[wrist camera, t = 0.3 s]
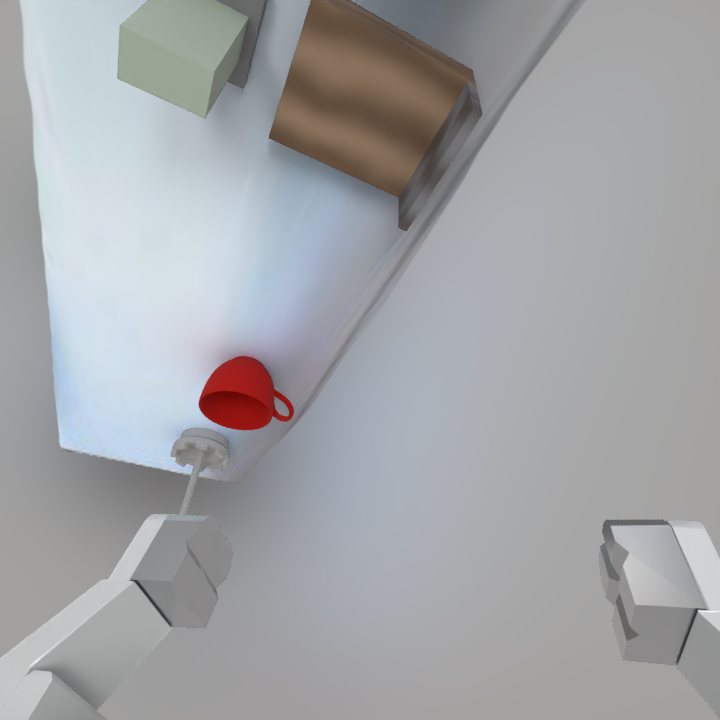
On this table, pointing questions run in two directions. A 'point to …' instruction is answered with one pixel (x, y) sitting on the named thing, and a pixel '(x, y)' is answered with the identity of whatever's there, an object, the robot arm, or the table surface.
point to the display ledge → (375, 103)
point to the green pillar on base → (189, 48)
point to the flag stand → (200, 455)
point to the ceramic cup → (241, 396)
